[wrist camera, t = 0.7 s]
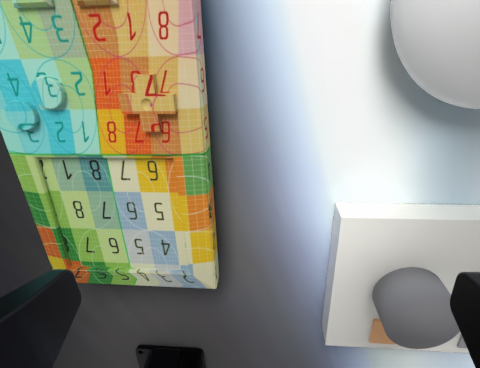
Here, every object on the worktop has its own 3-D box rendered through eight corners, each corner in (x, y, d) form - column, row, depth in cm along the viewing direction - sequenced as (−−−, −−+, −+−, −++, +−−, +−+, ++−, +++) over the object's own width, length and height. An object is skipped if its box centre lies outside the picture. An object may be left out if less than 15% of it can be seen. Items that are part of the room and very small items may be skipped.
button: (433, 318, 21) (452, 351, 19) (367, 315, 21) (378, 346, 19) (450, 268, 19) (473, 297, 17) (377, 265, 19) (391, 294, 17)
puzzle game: (184, -84, 12) (214, 299, 20) (206, -51, 16) (223, 254, 25) (-88, -66, 13) (49, 291, 21) (0, -41, 17) (85, 249, 26)
